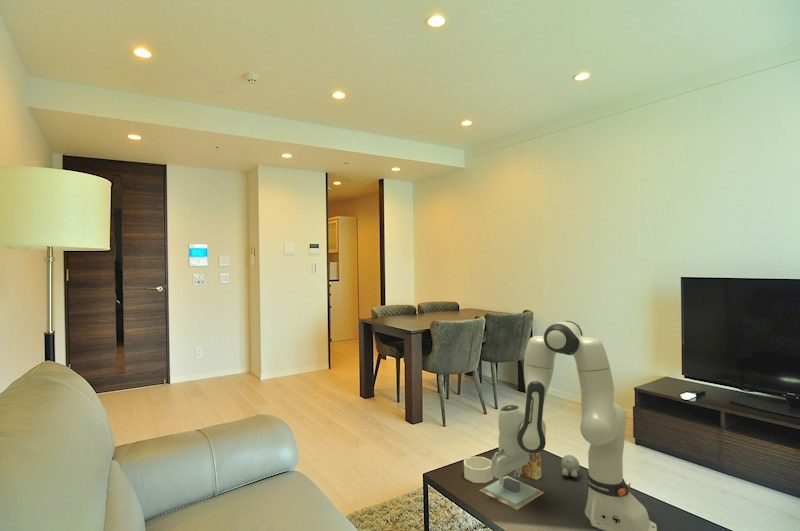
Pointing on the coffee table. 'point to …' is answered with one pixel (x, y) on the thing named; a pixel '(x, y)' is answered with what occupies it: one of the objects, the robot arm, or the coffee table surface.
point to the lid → (511, 491)
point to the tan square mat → (511, 504)
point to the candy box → (533, 466)
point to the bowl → (477, 469)
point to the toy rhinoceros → (570, 466)
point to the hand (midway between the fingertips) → (509, 481)
